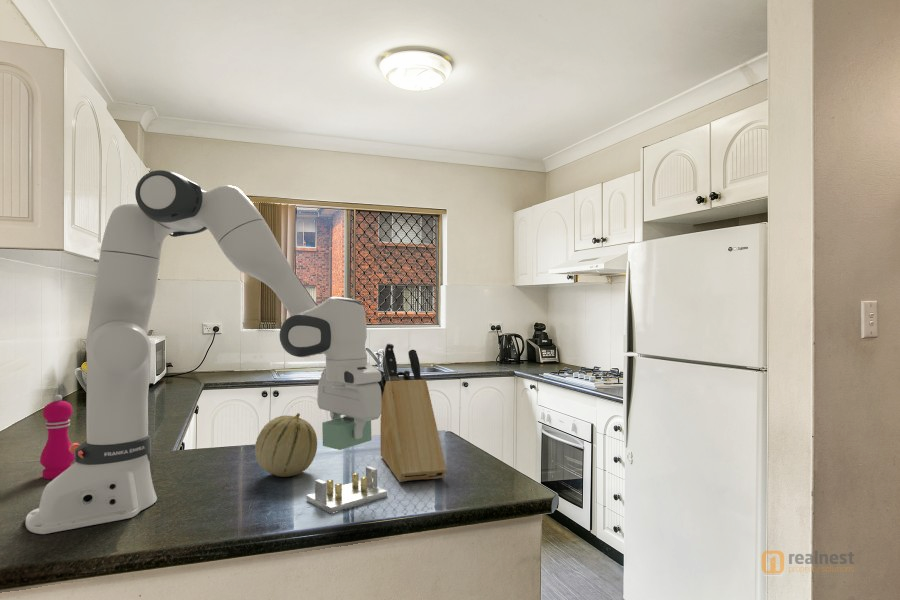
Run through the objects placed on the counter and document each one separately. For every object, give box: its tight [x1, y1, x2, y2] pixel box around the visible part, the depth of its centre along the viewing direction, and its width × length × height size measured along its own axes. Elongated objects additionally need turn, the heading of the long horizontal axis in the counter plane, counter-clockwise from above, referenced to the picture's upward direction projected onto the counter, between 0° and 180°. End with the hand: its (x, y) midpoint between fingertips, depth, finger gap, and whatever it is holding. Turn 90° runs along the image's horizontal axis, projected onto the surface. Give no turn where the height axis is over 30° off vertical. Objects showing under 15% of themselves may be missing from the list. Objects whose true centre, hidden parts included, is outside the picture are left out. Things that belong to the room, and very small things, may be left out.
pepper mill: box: [39, 394, 75, 480], centre depth 135 cm, size 7×7×20 cm
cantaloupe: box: [254, 412, 318, 478], centre depth 134 cm, size 15×15×15 cm
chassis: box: [305, 465, 388, 514], centre depth 117 cm, size 14×10×5 cm
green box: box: [321, 415, 372, 451], centre depth 118 cm, size 9×6×6 cm, turn 142°
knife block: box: [377, 343, 447, 483], centre depth 142 cm, size 11×35×31 cm, turn 18°
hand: (347, 434), depth 118 cm, fingers closed on green box, 6 cm apart
